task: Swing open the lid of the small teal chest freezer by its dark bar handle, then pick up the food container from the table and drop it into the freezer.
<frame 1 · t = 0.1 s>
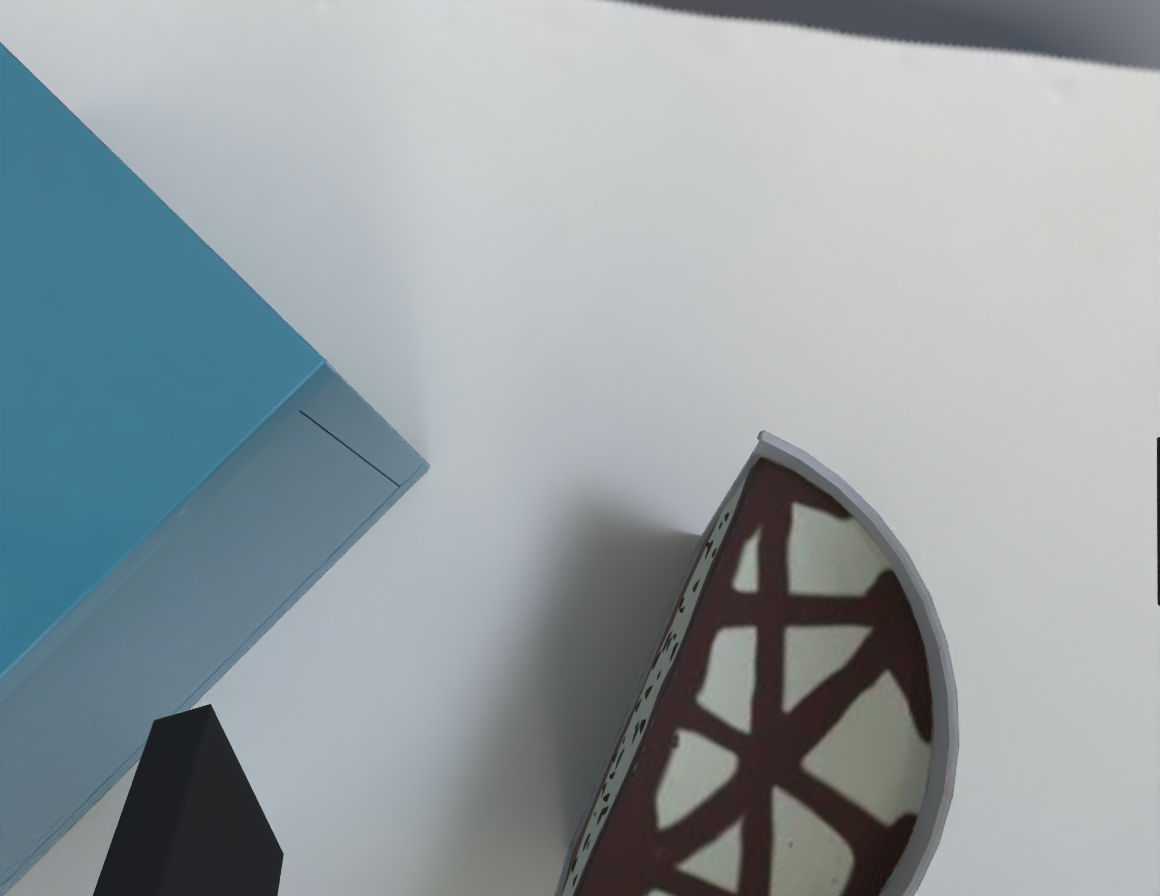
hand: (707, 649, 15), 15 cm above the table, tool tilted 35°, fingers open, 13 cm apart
freezer: (17, 500, 31), on the table
food container: (738, 737, 29), on the table
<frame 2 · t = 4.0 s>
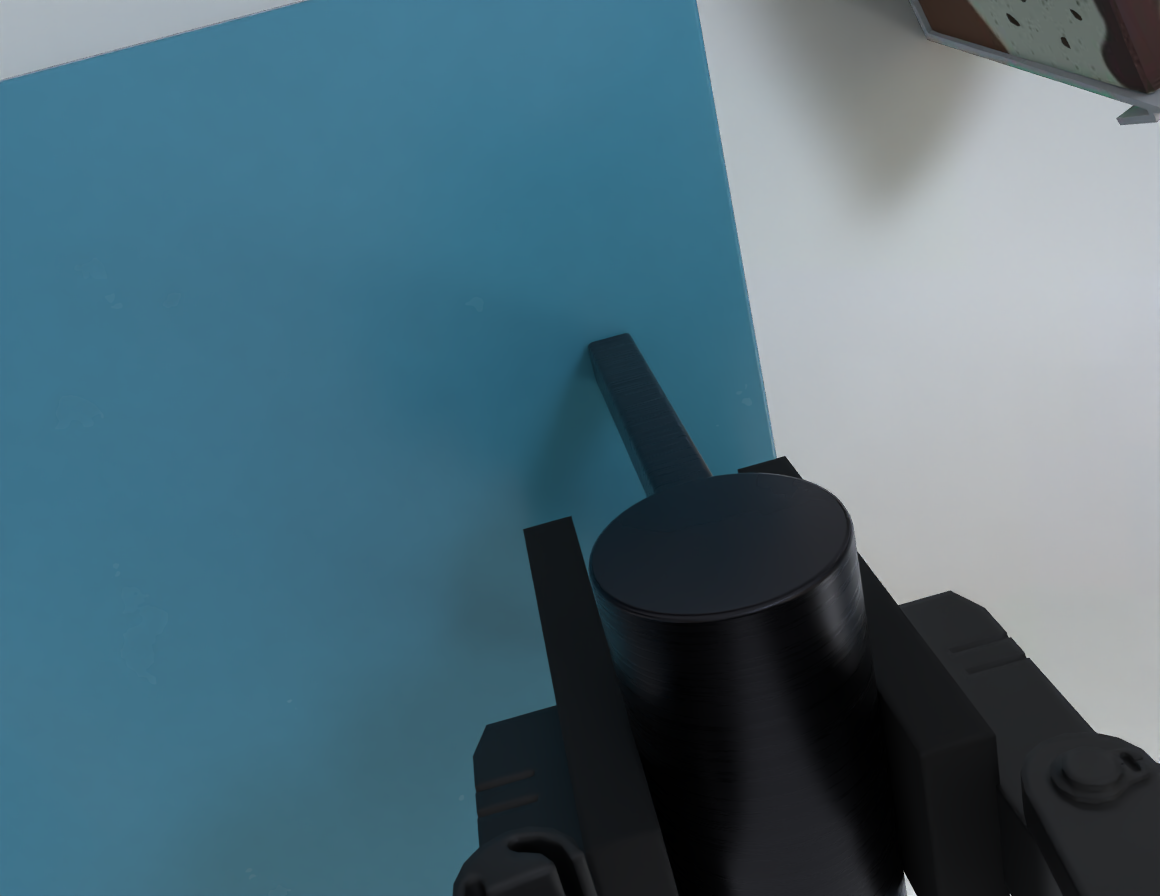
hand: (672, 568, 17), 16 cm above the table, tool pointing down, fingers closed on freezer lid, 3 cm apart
freezer: (330, 355, 31), on the table
freezer lid: (270, 763, 15), point 18 cm above the table, hinge at 0.0°, touching gripper
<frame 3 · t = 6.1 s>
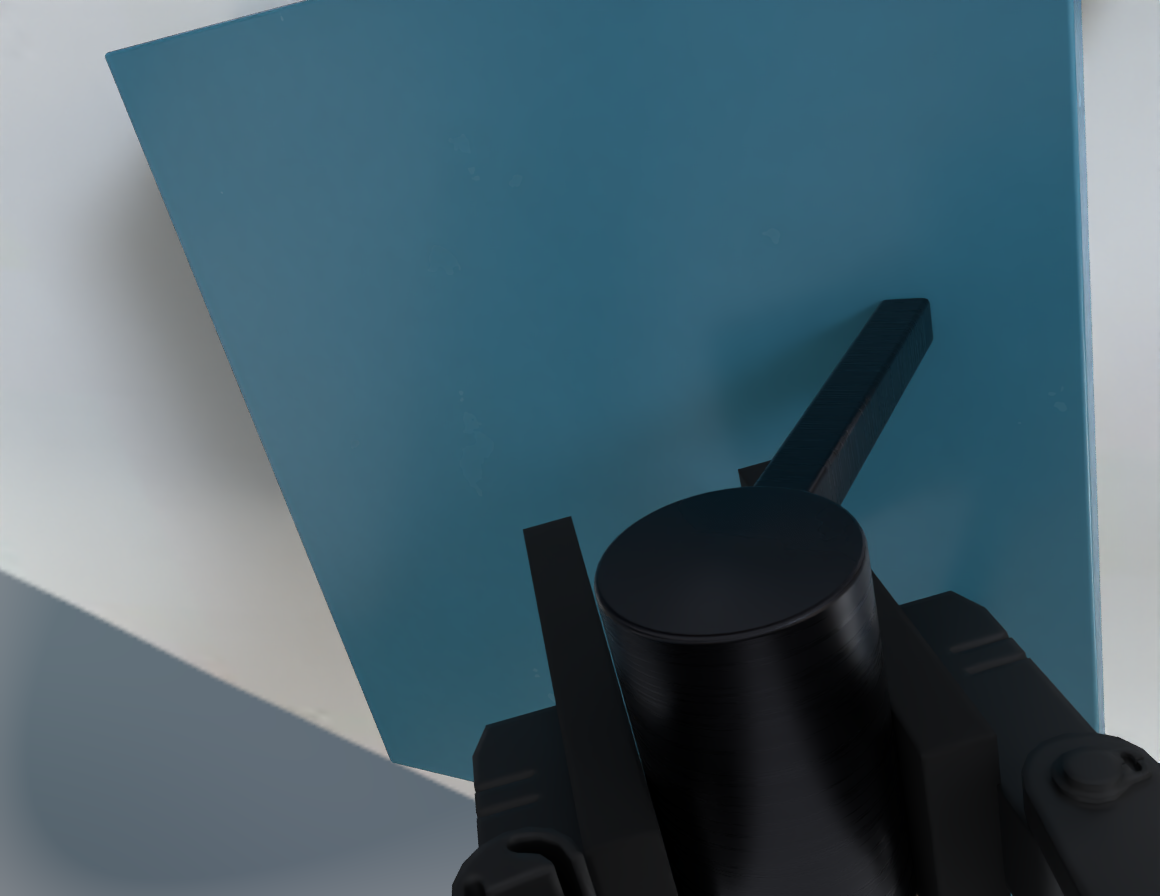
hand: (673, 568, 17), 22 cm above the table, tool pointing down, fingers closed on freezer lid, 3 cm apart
freezer lid: (482, 596, 17), point 22 cm above the table, hinge at 36.9°, touching gripper
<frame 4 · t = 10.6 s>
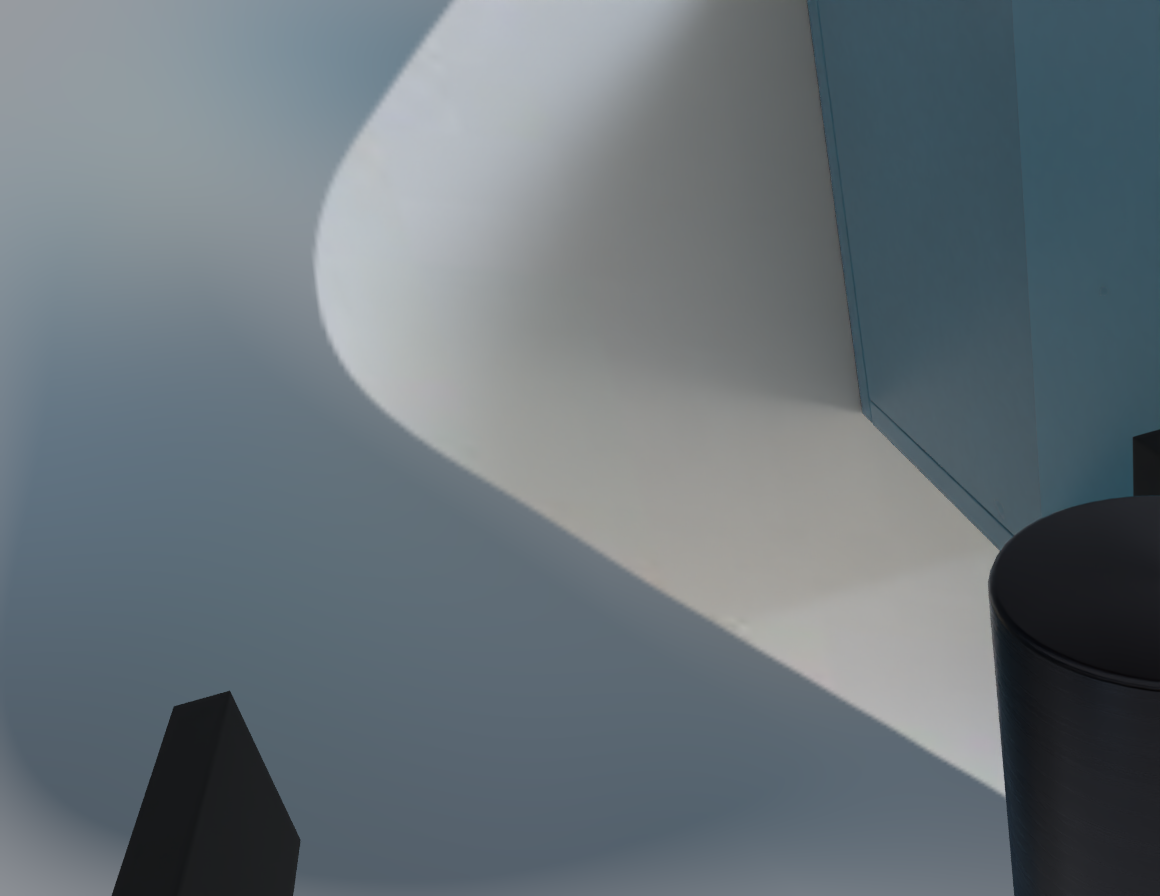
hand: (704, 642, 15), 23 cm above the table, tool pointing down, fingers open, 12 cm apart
freezer: (1059, 109, 36), on the table
freezer lid: (1095, 501, 16), point 22 cm above the table, hinge at 89.1°
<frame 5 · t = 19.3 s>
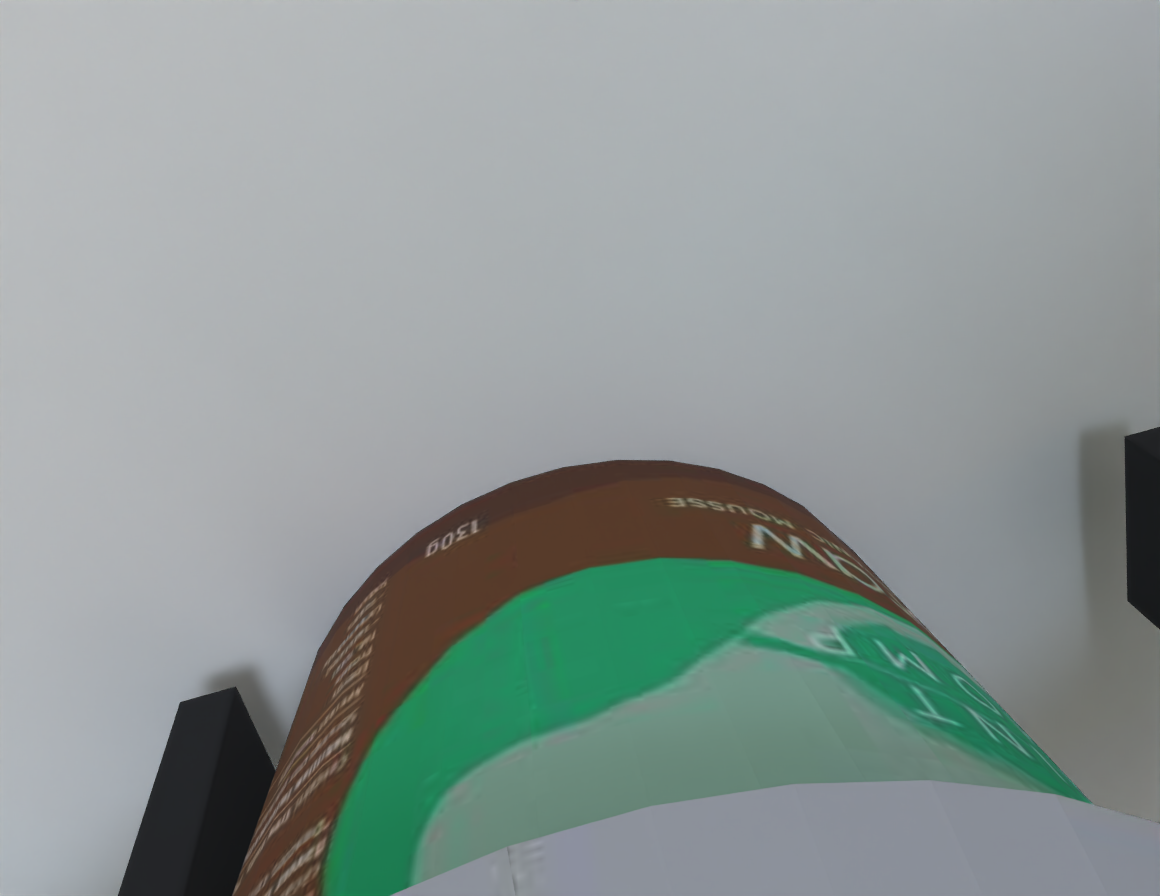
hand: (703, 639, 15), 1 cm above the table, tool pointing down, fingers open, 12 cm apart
food container: (695, 583, 16), on the table, touching gripper
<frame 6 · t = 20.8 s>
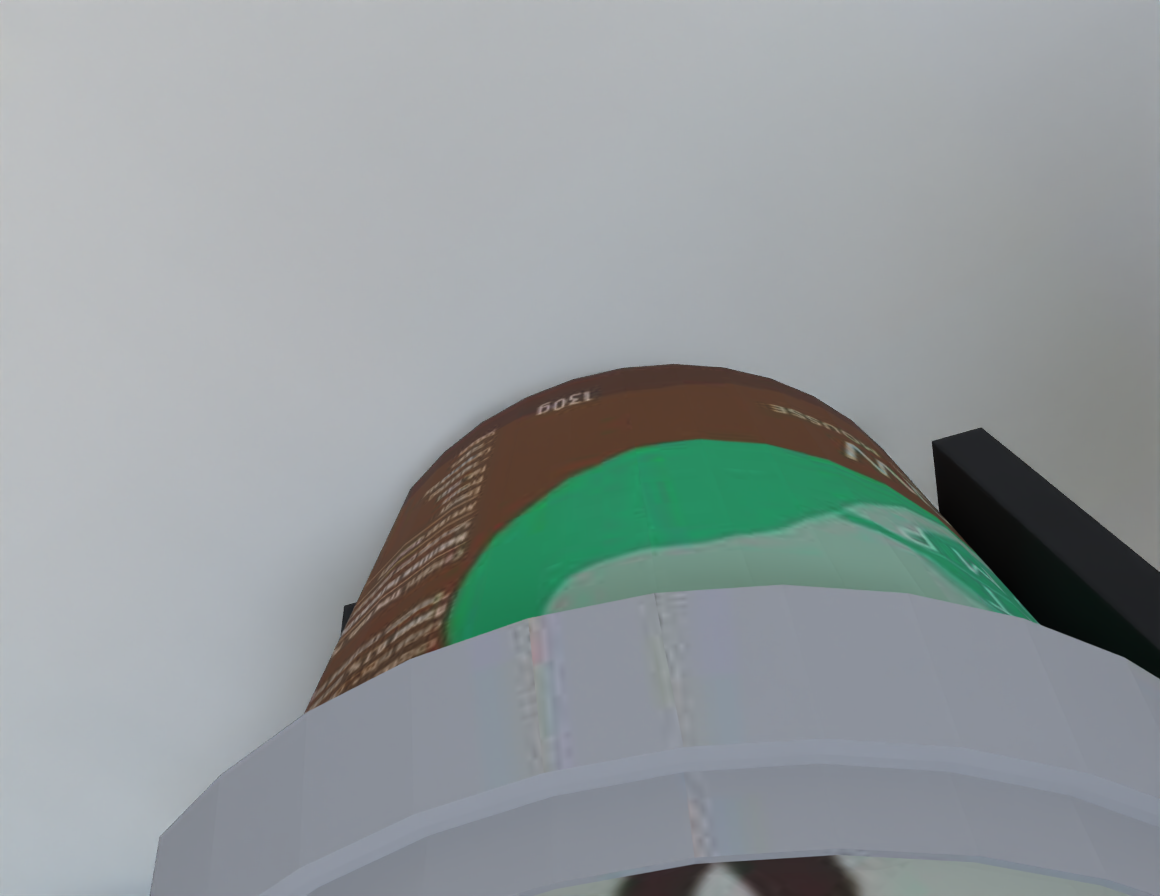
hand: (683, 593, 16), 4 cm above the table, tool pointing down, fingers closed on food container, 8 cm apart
food container: (765, 501, 17), point 3 cm above the table, touching gripper
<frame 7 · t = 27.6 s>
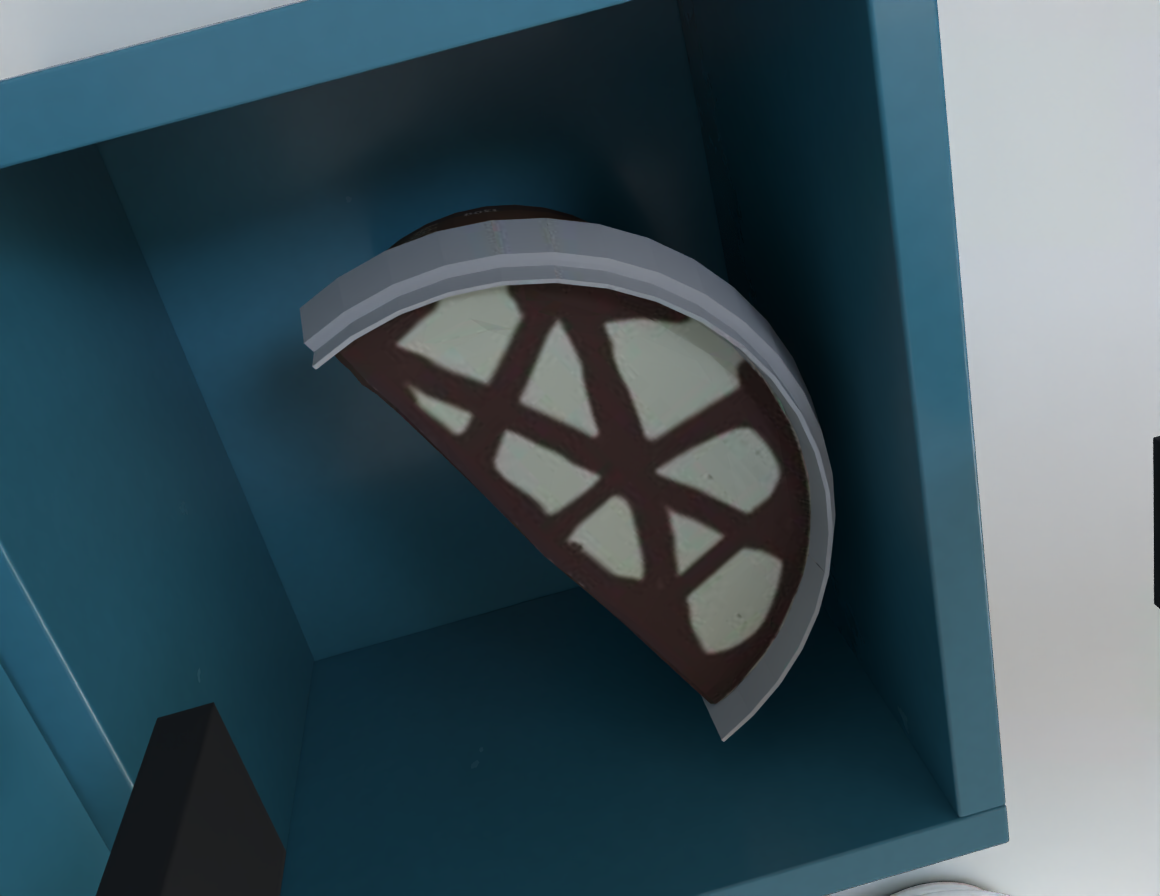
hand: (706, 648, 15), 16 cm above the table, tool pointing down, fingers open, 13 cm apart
freezer: (470, 334, 29), on the table
food container: (585, 307, 29), point 1 cm above the table, touching freezer
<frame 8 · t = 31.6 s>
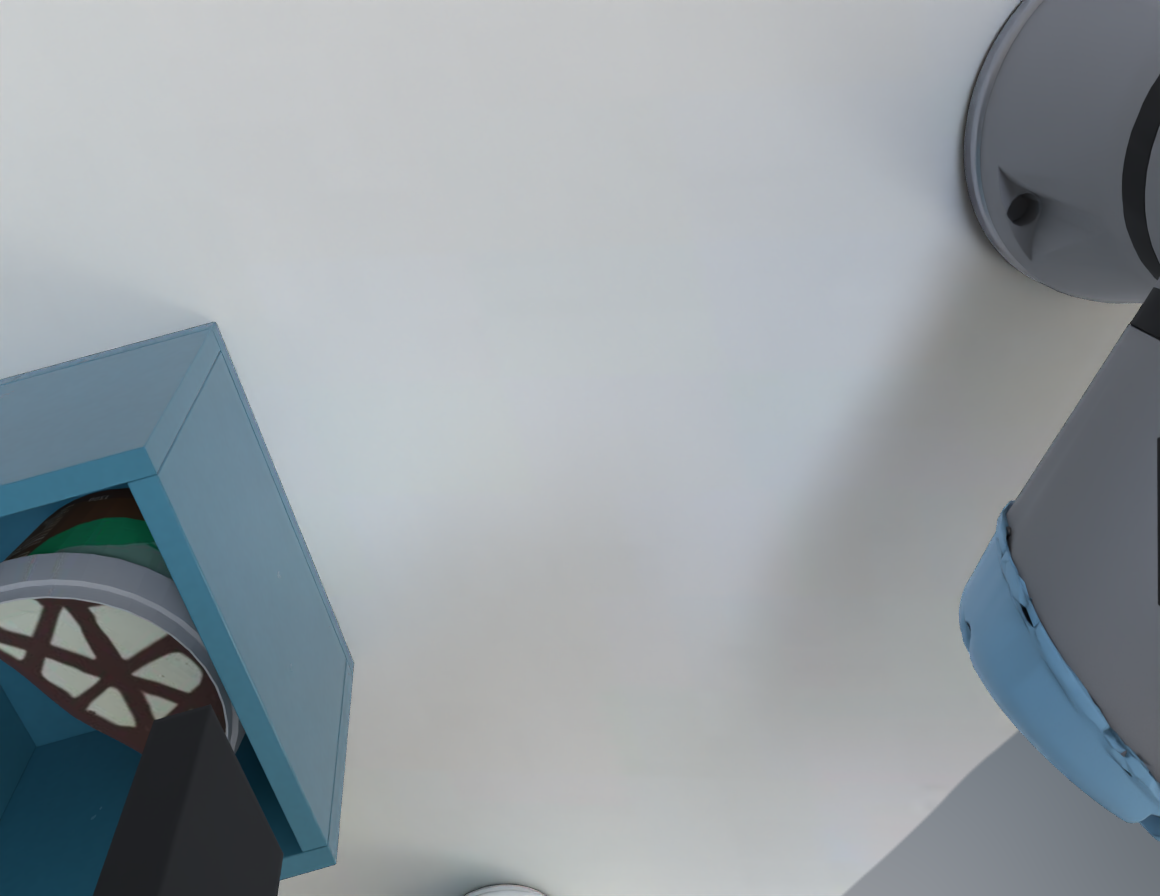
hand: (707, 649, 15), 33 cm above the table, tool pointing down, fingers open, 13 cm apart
freezer: (117, 553, 48), on the table
food container: (181, 540, 48), point 1 cm above the table, touching freezer
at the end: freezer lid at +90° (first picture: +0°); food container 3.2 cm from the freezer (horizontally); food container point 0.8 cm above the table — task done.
